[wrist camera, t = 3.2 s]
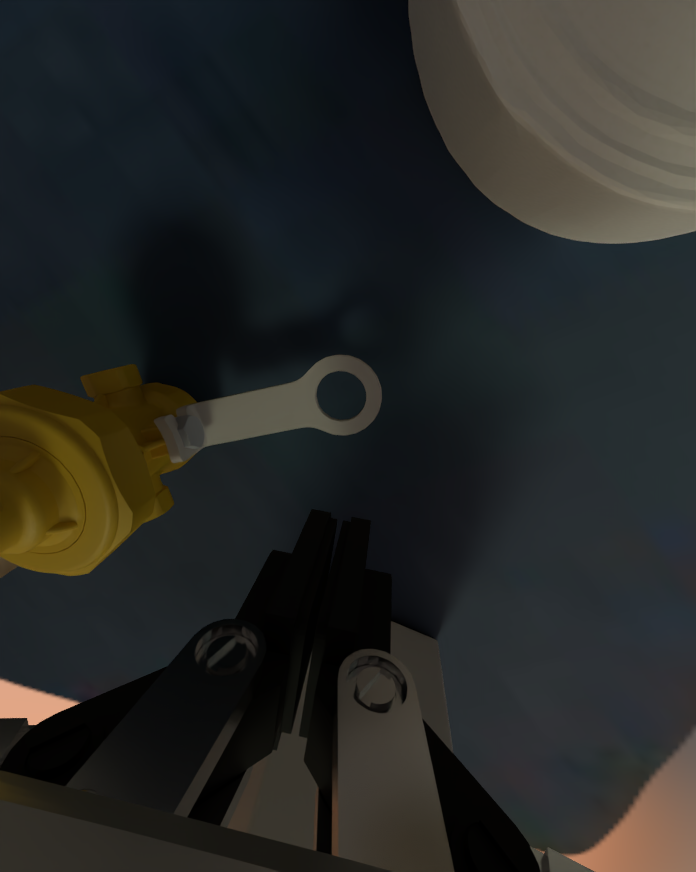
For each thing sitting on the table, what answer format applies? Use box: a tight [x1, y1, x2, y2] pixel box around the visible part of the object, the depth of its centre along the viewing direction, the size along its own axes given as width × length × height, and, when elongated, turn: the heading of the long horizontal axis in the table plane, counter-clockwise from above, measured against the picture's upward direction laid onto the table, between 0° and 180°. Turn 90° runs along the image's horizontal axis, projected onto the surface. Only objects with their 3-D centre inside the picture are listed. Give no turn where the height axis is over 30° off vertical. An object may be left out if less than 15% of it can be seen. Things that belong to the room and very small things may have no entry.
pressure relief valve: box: [0, 354, 382, 576], centre depth 12 cm, size 6×12×10 cm, turn 103°
